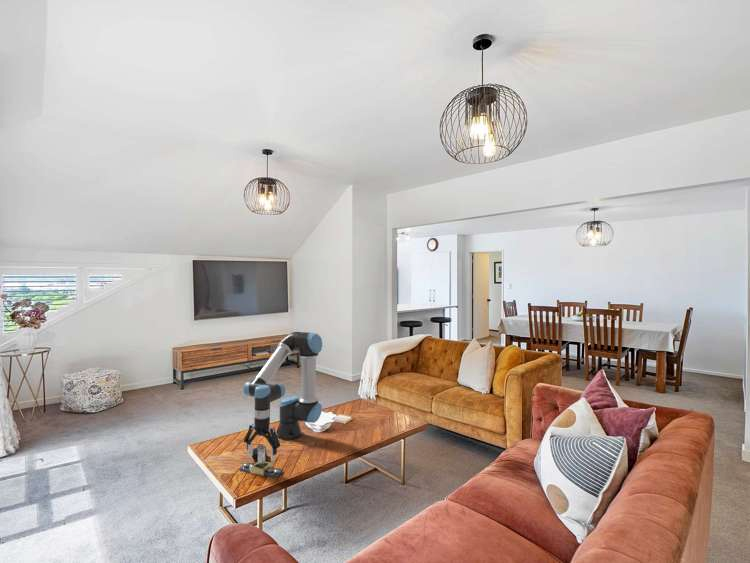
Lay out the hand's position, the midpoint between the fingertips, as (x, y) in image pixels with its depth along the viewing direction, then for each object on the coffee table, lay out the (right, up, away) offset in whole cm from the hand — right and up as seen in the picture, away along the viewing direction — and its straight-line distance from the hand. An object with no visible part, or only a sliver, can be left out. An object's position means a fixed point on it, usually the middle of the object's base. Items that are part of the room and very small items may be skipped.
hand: (261, 458), depth 196 cm
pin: (0, -6, 0) cm, 6 cm away
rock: (-5, -6, +13) cm, 16 cm away
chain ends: (0, -6, 0) cm, 6 cm away
